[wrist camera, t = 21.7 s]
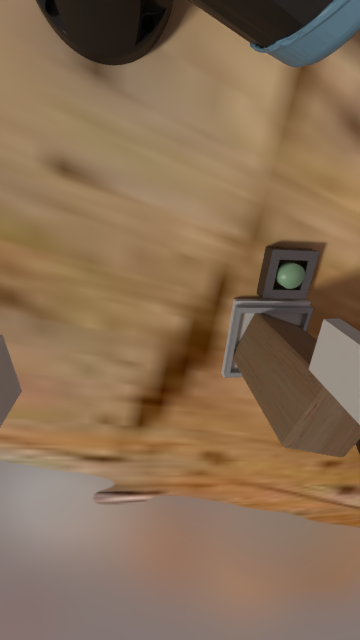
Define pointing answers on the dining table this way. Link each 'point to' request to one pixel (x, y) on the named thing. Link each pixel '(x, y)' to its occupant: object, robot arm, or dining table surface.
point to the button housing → (271, 265)
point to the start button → (289, 274)
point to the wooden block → (292, 388)
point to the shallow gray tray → (277, 308)
